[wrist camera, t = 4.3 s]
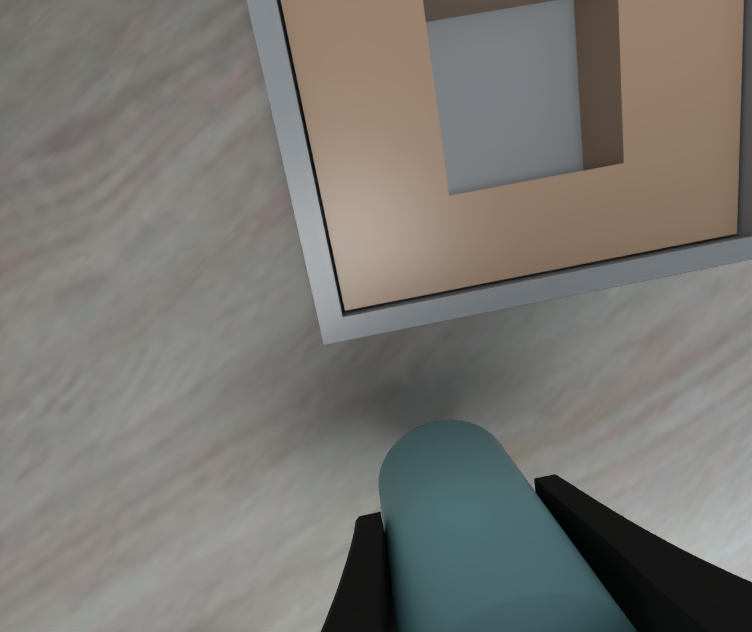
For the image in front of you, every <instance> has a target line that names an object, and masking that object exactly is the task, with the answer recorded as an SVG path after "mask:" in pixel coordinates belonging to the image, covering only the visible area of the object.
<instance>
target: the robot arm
mask: <svg viewBox="0 0 752 632" xmlns="http://www.w3.org/2000/svg"><path fill="white" fill-rule="evenodd" d="M534 481H535V491H536V494H537V495H538V496H539V498H540V499H541V500H542V502H543V503H544V504H545V506H546V507H547V509H548V510H549V511H550V513H551V514H552V515H553V517H554V518H555V520H556V521H557V522H558V524H559V525H560V526H561V528H562V529H563V531H564V532H565V533H566V535H567V536H568V537H569V539H570V540H571V541H572V543H573V544H574V546H575V547H576V548H577V550H578V551H579V552H580V554H581V555H582V557H583V558H584V559H585V561H586V562H587V563H588V565H589V566H590V568H591V569H592V570H593V572H594V573H595V574H596V576H597V577H598V578H599V580H600V581H601V583H602V584H603V585H604V587H605V588H606V589H607V591H608V592H609V594H610V595H611V596H612V598H613V599H614V600H615V602H616V603H617V605H618V606H619V607H620V609H621V610H622V611H623V613H624V614H625V615H626V617H627V618H628V620H629V621H630V622H631V624H632V625H633V626H634V628H635V629H636V631H637V632H752V582H750V581H748V580H745V579H743V578H741V577H739V576H736V575H734V574H732V573H730V572H728V571H725V570H723V569H721V568H719V567H717V566H715V565H713V564H711V563H709V562H706V561H704V560H702V559H700V558H698V557H696V556H694V555H692V554H690V553H688V552H686V551H684V550H682V549H680V548H678V547H676V546H674V545H673V544H671V543H669V542H667V541H665V540H663V539H662V538H660V537H658V536H656V535H654V534H652V533H650V532H649V531H647V530H645V529H643V528H642V527H640V526H638V525H636V524H635V523H633V522H631V521H630V520H628V519H626V518H624V517H623V516H621V515H619V514H618V513H616V512H614V511H613V510H611V509H610V508H608V507H606V506H605V505H603V504H601V503H600V502H598V501H597V500H595V499H593V498H592V497H590V496H589V495H587V494H586V493H584V492H582V491H581V490H579V489H578V488H576V487H575V486H573V485H571V484H570V483H568V482H567V481H565V480H564V479H562V478H560V477H559V476H557V475H555V474H554V475H549V476H545V477H540V478H535V479H534ZM321 632H397V628H396V620H395V612H394V604H393V596H392V588H391V580H390V573H389V563H388V555H387V547H386V539H385V532H384V527H383V522H382V518H381V513H380V512H377V513H373V514H368V515H363V516H359V517H358V519H357V520H356V523H355V529H354V534H353V539H352V543H351V547H350V550H349V554H348V558H347V561H346V564H345V567H344V570H343V573H342V577H341V580H340V583H339V586H338V589H337V592H336V594H335V597H334V599H333V602H332V605H331V607H330V610H329V612H328V615H327V618H326V620H325V623H324V625H323V628H322V630H321Z"/></svg>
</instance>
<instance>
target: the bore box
mask: <svg viewBox="0 0 752 632" xmlns="http://www.w3.org/2000/svg"><path fill="white" fill-rule="evenodd" d="M247 5H248V9H249V14H250V18H251V23H252V27H253V31H254V36H255V40H256V45H257V49H258V54H259V58H260V63H261V67H262V72H263V76H264V80H265V85H266V89H267V94H268V98H269V103H270V107H271V112H272V116H273V121H274V125H275V129H276V134H277V138H278V143H279V147H280V152H281V156H282V161H283V165H284V170H285V174H286V178H287V183H288V187H289V192H290V196H291V201H292V205H293V210H294V214H295V219H296V223H297V227H298V232H299V236H300V241H301V245H302V250H303V254H304V259H305V263H306V268H307V272H308V276H309V281H310V285H311V290H312V294H313V299H314V303H315V308H316V312H317V317H318V321H319V325H320V330H321V334H322V339H323V343H324V345H326V344H331V343H336V342H341V341H346V340H351V339H356V338H361V337H366V336H371V335H376V334H381V333H386V332H391V331H396V330H401V329H406V328H411V327H416V326H421V325H426V324H431V323H436V322H441V321H446V320H451V319H456V318H461V317H466V316H471V315H476V314H481V313H486V312H491V311H496V310H501V309H506V308H511V307H516V306H521V305H526V304H531V303H536V302H541V301H546V300H551V299H556V298H561V297H566V296H571V295H576V294H581V293H586V292H591V291H596V290H601V289H606V288H611V287H616V286H621V285H626V284H631V283H636V282H641V281H646V280H651V279H656V278H661V277H666V276H671V275H676V274H681V273H686V272H691V271H696V270H701V269H706V268H711V267H716V266H721V265H726V264H731V263H736V262H741V261H746V260H751V259H752V0H247Z"/></svg>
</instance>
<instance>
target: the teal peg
mask: <svg viewBox="0 0 752 632" xmlns="http://www.w3.org/2000/svg"><path fill="white" fill-rule="evenodd" d="M379 494H380V502H381V510H382V518H383V525H384V532H385V539H386V547H387V555H388V563H389V573H390V580H391V588H392V596H393V604H394V612H395V620H396V628H397V632H637V631H636V629H635V628H634V626H633V625H632V624H631V622H630V621H629V620H628V618H627V617H626V615H625V614H624V613H623V611H622V610H621V609H620V607H619V606H618V605H617V603H616V602H615V600H614V599H613V598H612V596H611V595H610V594H609V592H608V591H607V589H606V588H605V587H604V585H603V584H602V583H601V581H600V580H599V578H598V577H597V576H596V574H595V573H594V572H593V570H592V569H591V568H590V566H589V565H588V563H587V562H586V561H585V559H584V558H583V557H582V555H581V554H580V552H579V551H578V550H577V548H576V547H575V546H574V544H573V543H572V541H571V540H570V539H569V537H568V536H567V535H566V533H565V532H564V531H563V529H562V528H561V526H560V525H559V524H558V522H557V521H556V520H555V518H554V517H553V515H552V514H551V513H550V511H549V510H548V509H547V507H546V506H545V504H544V503H543V502H542V500H541V499H540V498H539V496H538V495H537V494H536V492H535V491H534V489H533V488H532V487H531V485H530V484H529V483H528V481H527V480H526V478H525V477H524V476H523V474H522V473H521V472H520V470H519V469H518V467H517V466H516V465H515V463H514V462H513V461H512V459H511V458H510V457H509V455H508V454H507V452H506V451H505V450H504V448H503V447H502V446H501V444H500V443H499V442H498V440H497V439H496V438H495V437H494V436H493V435H492V434H491V433H489V432H488V431H487V430H485V429H483V428H481V427H480V426H478V425H475V424H472V423H470V422H465V421H460V420H441V421H434V422H431V423H427V424H424V425H422V426H419V427H417V428H415V429H414V430H412V431H410V432H409V433H407V434H406V435H404V436H403V437H402V438H401V439H400V440H399V441H397V442H396V444H395V445H394V446H393V447H392V448H391V449H390V451H389V453H388V454H387V456H386V458H385V460H384V462H383V464H382V467H381V470H380V475H379Z"/></svg>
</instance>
